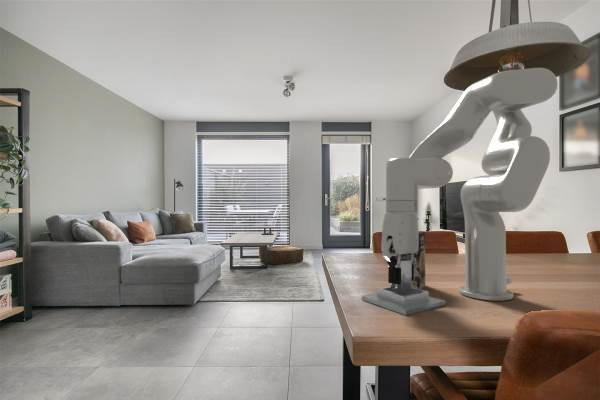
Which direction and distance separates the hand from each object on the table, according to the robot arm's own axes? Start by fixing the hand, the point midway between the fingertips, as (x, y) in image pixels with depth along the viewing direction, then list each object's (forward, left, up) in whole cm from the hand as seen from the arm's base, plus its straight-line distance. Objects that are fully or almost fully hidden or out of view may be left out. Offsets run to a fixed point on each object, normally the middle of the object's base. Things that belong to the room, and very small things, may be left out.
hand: (401, 281), depth 83 cm
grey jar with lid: (0, 0, -2) cm, 2 cm away
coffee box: (-14, -9, -6) cm, 18 cm away
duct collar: (0, 0, -5) cm, 5 cm away
